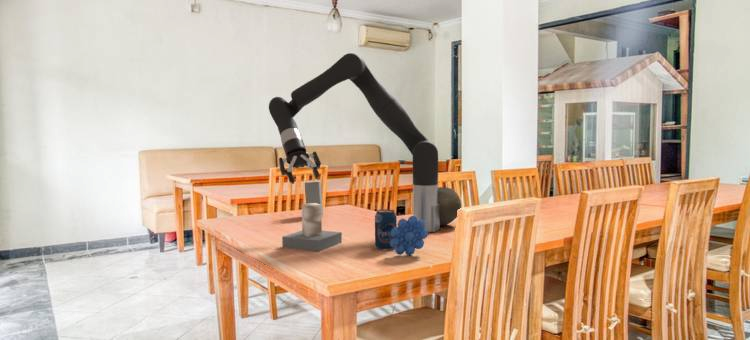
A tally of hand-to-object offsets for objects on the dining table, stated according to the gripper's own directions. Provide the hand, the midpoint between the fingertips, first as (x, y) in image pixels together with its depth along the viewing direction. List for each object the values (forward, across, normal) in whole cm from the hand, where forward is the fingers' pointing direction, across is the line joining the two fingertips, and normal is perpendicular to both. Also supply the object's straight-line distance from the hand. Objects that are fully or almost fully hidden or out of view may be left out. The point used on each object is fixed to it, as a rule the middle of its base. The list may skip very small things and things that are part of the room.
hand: (305, 180), depth 179 cm
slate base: (+24, -4, +3) cm, 24 cm away
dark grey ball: (+23, +50, +17) cm, 58 cm away
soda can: (+34, +16, -7) cm, 39 cm away
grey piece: (+20, -4, 0) cm, 21 cm away
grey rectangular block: (-7, +10, +46) cm, 47 cm away
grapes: (+41, +19, -15) cm, 48 cm away
